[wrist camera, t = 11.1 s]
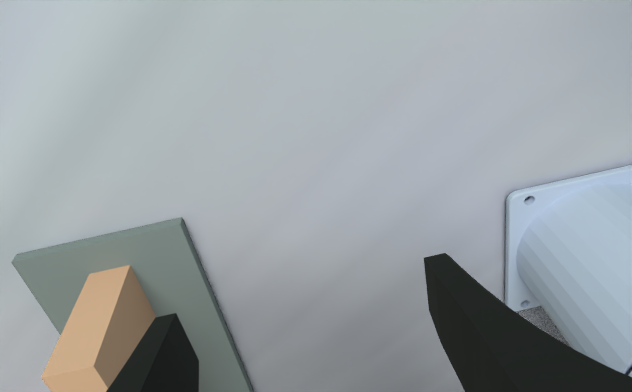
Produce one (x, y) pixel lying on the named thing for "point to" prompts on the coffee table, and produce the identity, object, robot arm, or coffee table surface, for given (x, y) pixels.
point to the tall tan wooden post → (99, 333)
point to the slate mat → (157, 283)
